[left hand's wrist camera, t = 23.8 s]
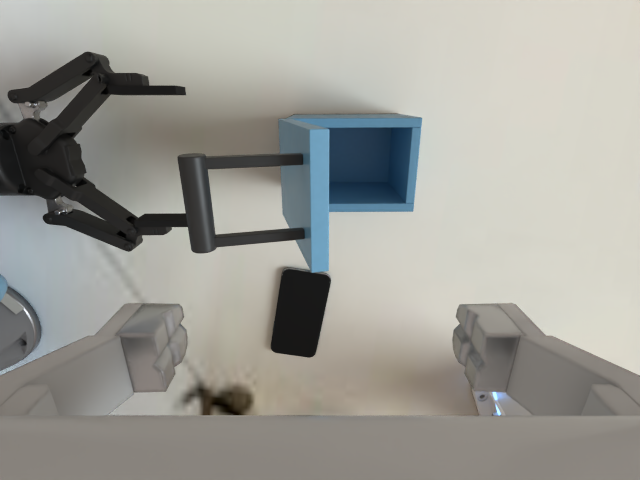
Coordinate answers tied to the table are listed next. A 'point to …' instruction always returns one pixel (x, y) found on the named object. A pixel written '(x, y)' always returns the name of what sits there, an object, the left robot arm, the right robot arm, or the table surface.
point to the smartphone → (300, 312)
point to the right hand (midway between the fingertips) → (190, 159)
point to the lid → (297, 193)
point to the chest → (370, 160)
